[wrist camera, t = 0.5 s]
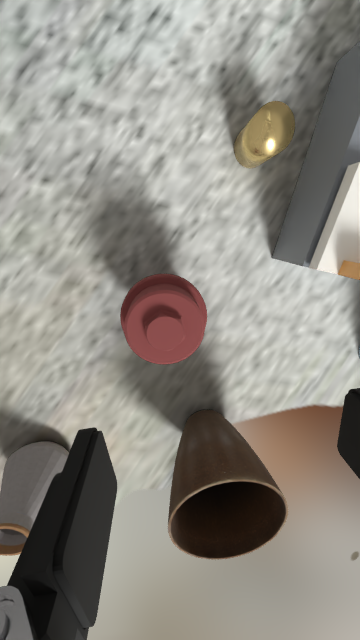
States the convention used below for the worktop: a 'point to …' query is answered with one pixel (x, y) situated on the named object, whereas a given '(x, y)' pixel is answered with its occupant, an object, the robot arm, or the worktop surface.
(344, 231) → the lid
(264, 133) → the peg
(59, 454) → the coffee pot
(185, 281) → the mechanical component
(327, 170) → the housing
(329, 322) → the worktop surface
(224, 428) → the plant pot
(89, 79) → the worktop surface
